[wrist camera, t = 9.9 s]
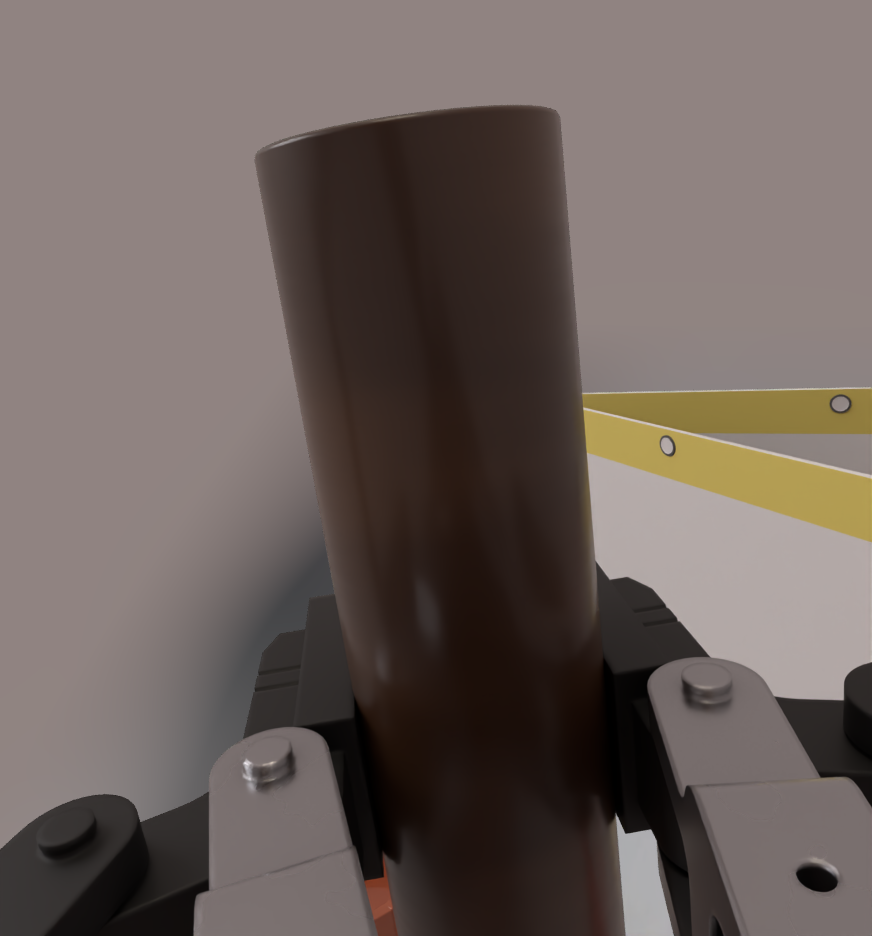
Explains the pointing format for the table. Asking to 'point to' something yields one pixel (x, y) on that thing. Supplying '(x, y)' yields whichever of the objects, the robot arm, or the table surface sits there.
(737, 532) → the tablet
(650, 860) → the table surface
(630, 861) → the table surface
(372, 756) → the brown tall cylinder
